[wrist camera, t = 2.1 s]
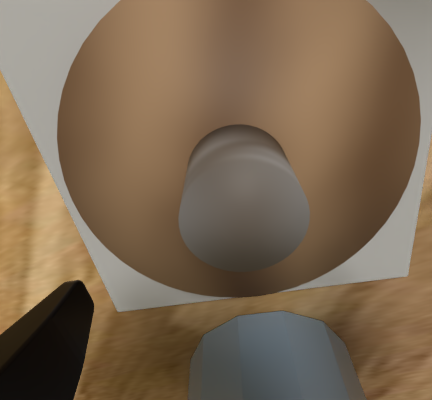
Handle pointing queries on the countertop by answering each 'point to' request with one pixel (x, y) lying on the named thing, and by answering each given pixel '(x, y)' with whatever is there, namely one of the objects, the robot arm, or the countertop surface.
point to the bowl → (273, 361)
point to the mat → (47, 144)
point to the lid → (238, 138)
